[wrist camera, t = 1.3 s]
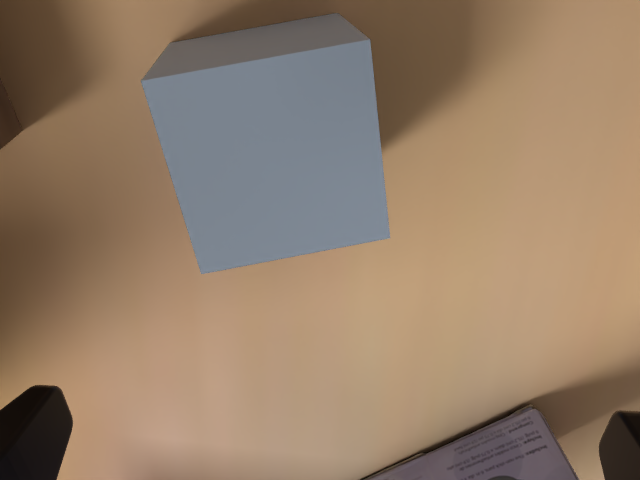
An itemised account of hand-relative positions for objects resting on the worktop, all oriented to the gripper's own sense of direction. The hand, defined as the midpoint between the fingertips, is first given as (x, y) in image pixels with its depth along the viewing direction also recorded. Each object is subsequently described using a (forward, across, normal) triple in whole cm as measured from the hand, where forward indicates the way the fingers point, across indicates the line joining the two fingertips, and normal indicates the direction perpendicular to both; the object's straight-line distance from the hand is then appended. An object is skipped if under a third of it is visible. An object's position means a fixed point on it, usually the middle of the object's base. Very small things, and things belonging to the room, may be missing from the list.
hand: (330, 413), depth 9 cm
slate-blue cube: (+14, +3, 0) cm, 14 cm away
